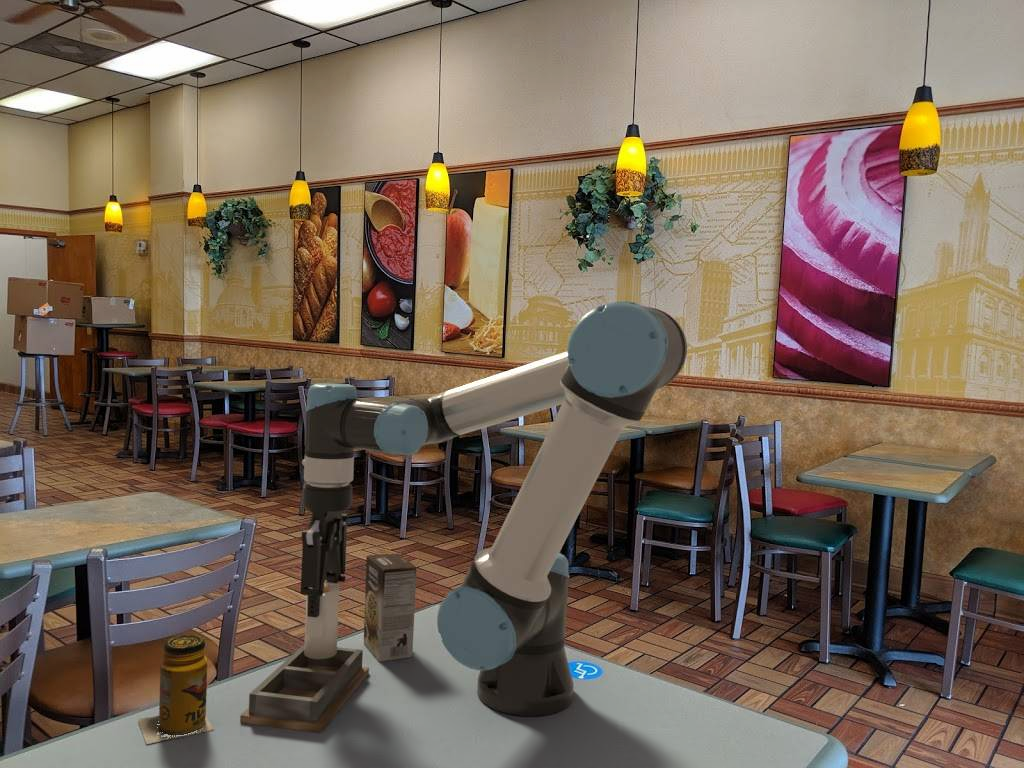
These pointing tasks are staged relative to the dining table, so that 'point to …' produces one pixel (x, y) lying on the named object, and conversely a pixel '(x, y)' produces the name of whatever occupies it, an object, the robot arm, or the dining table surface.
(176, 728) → the condiment
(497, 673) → the robot arm
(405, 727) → the dining table surface
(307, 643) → the cylinder
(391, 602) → the coffee box
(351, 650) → the grey wooden tray
